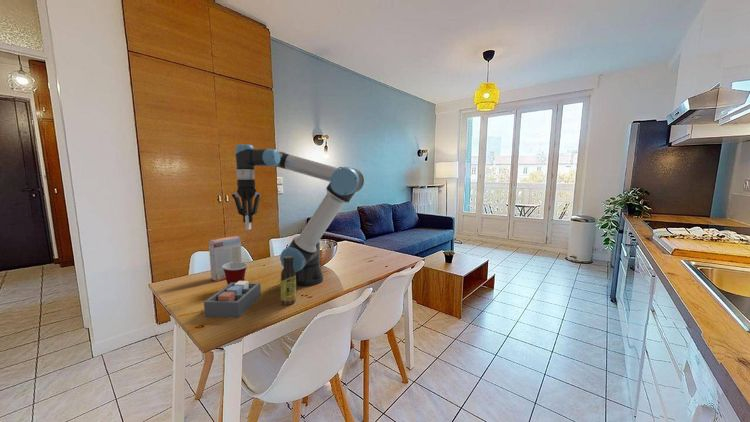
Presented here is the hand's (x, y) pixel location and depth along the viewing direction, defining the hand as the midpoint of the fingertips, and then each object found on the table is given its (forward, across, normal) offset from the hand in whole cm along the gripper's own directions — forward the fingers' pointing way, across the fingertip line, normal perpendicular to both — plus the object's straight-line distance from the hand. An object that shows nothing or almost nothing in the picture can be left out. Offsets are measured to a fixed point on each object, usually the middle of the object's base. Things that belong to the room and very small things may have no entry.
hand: (248, 229), depth 134 cm
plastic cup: (+29, -6, -2) cm, 29 cm away
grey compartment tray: (+28, +1, -20) cm, 35 cm away
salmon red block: (+26, +1, -26) cm, 37 cm away
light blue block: (+26, +1, -20) cm, 33 cm away
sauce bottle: (+29, +22, -17) cm, 40 cm away
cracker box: (+28, -18, +14) cm, 37 cm away
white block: (+26, +2, -14) cm, 29 cm away
